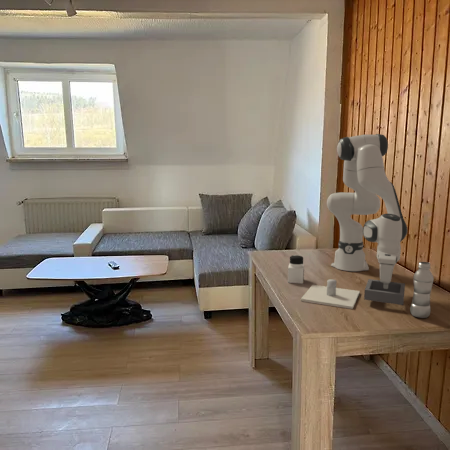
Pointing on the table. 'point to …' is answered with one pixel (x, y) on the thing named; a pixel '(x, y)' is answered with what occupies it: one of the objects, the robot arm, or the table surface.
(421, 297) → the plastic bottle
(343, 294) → the post stand
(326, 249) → the table surface
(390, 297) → the grey rectangular frame
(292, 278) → the medicine bottle
